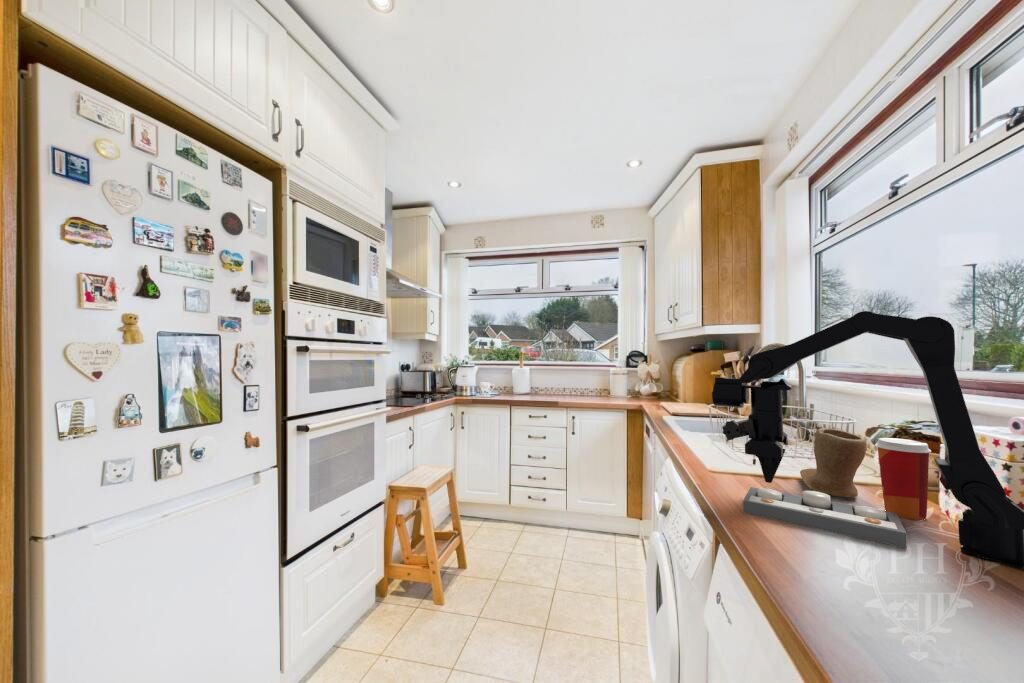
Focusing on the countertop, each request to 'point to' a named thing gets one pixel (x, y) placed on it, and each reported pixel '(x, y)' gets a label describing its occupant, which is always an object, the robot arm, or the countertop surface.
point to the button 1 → (770, 494)
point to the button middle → (816, 499)
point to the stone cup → (835, 462)
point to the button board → (827, 518)
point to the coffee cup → (904, 476)
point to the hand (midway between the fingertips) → (768, 482)
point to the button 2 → (870, 513)
